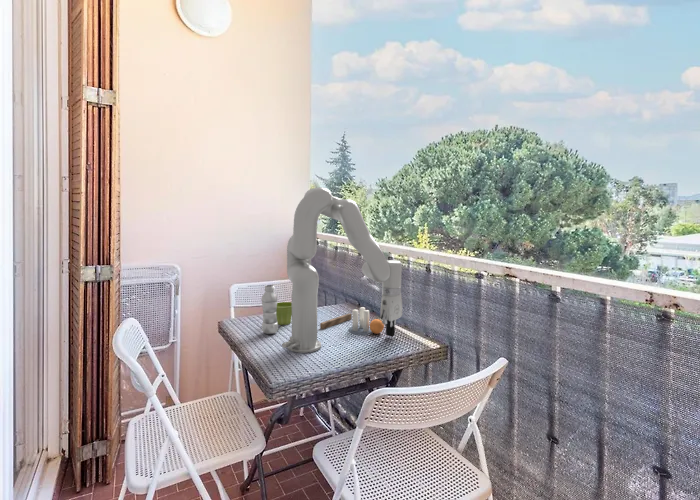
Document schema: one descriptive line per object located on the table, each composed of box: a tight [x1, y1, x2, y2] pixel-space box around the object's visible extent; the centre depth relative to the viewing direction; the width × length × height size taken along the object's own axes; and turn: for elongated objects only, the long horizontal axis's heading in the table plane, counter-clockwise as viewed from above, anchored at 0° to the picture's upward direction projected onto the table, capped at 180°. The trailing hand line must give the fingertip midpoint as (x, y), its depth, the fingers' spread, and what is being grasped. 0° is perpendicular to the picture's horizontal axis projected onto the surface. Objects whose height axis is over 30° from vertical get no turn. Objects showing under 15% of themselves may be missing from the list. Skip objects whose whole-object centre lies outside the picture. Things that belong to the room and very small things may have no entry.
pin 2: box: [358, 306, 366, 328], centre depth 168 cm, size 2×2×9 cm
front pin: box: [363, 309, 370, 332], centre depth 164 cm, size 2×2×9 cm
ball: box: [369, 318, 385, 335], centre depth 162 cm, size 6×6×6 cm
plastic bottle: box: [261, 284, 279, 335], centre depth 159 cm, size 6×7×20 cm
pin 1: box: [351, 309, 359, 331], centre depth 165 cm, size 2×2×9 cm
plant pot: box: [276, 301, 292, 326], centre depth 174 cm, size 9×9×9 cm
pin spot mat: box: [347, 325, 373, 336], centre depth 166 cm, size 12×12×1 cm
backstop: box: [319, 313, 353, 330], centre depth 175 cm, size 20×2×2 cm, turn 142°
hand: (390, 335), depth 157 cm, fingers closed
